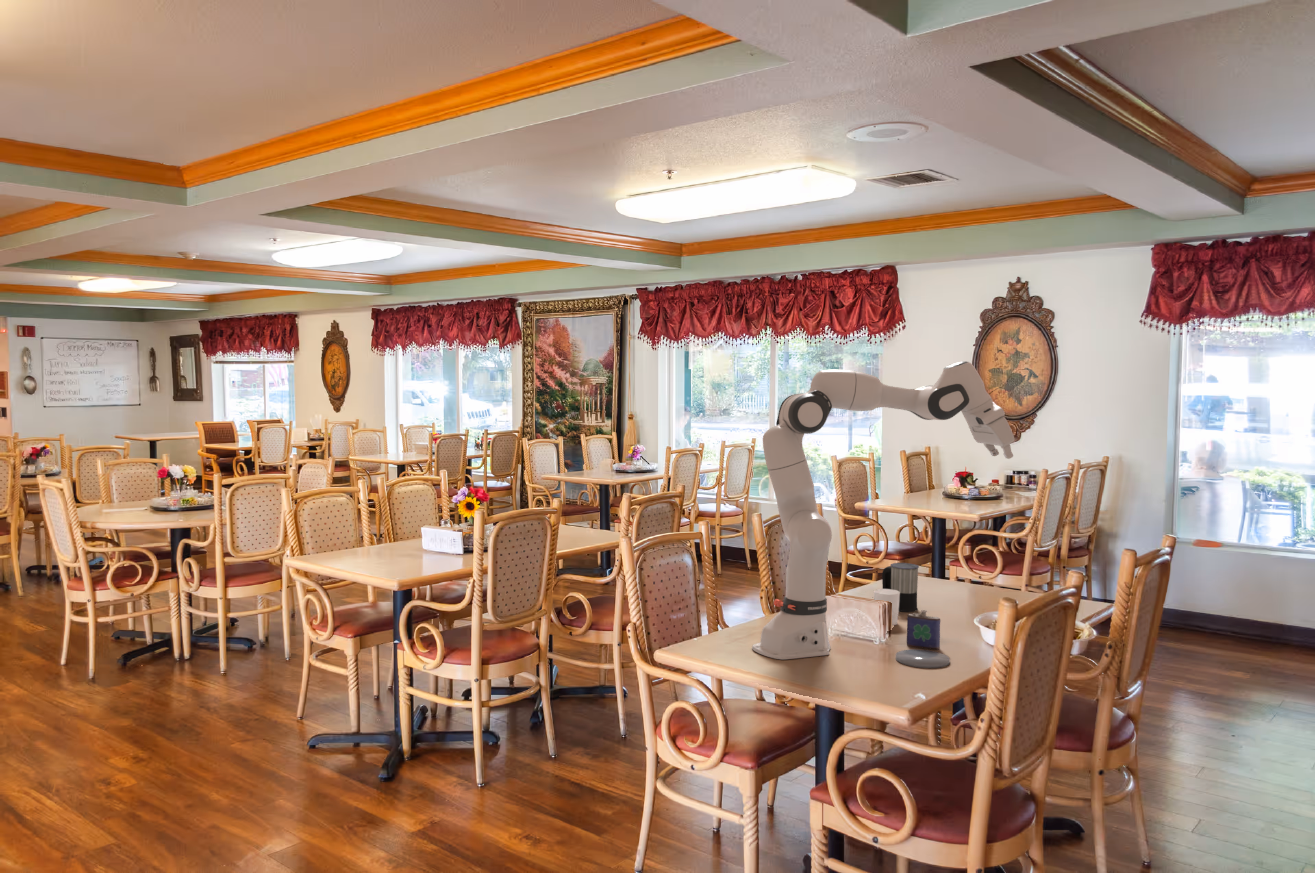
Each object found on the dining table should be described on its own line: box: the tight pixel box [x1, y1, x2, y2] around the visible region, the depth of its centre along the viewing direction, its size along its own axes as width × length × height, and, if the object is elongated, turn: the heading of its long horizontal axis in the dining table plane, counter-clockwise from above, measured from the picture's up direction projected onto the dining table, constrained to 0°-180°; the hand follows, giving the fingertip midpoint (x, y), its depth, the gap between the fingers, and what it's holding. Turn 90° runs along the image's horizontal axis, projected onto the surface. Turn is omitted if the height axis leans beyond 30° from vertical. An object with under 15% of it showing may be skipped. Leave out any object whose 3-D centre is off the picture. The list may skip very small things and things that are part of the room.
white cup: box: [873, 588, 900, 626], centre depth 288 cm, size 8×8×10 cm
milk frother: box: [881, 562, 920, 613], centre depth 306 cm, size 14×16×15 cm
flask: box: [906, 609, 941, 651], centre depth 261 cm, size 9×3×11 cm, turn 61°
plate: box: [895, 648, 951, 669], centre depth 248 cm, size 14×14×1 cm
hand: (1002, 456), depth 260 cm, fingers open, 8 cm apart
